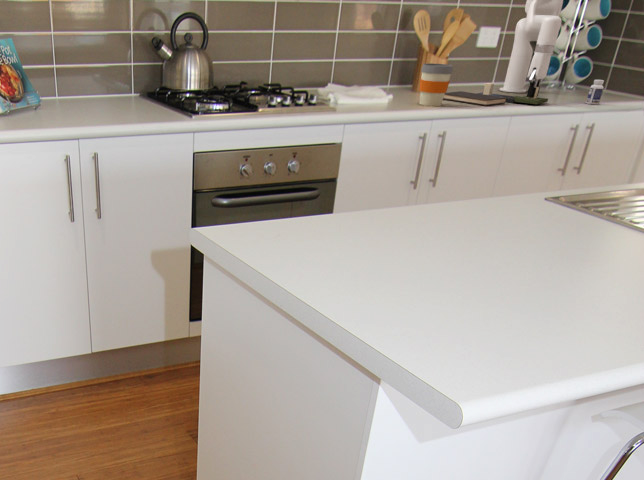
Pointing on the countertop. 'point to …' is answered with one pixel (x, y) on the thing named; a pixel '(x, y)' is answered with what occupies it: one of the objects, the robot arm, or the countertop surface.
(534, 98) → the olive tile
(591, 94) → the pill bottle
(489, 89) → the slate tile
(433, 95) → the reusable coffee cup
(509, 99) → the base tile
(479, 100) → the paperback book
